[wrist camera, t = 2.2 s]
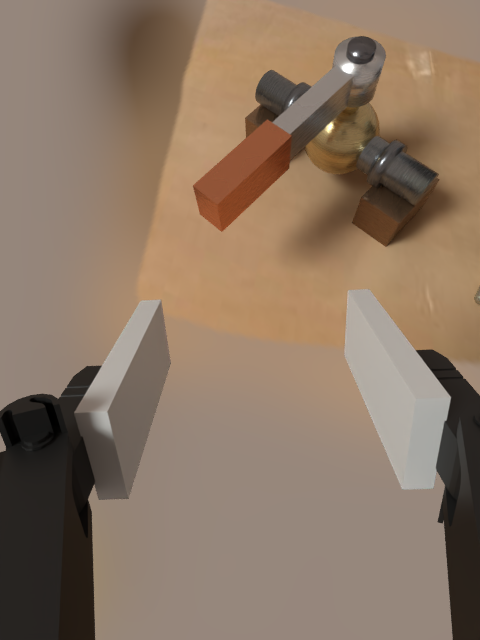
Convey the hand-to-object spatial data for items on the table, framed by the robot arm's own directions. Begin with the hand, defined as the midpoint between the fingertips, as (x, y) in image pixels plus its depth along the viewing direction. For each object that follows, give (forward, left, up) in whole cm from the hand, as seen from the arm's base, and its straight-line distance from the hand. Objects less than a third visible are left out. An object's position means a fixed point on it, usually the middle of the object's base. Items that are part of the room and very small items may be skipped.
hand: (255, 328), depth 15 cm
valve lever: (+3, -18, -10) cm, 21 cm away
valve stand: (+1, -24, -20) cm, 32 cm away
